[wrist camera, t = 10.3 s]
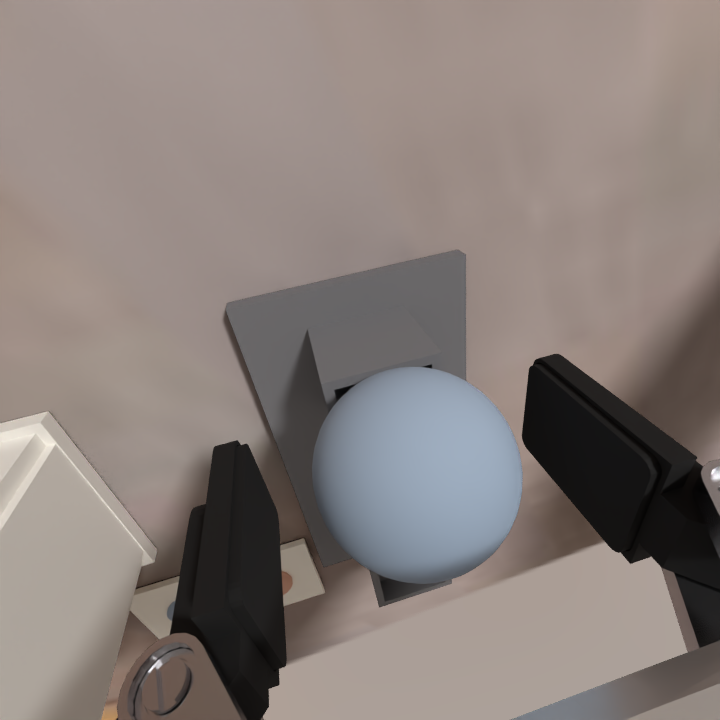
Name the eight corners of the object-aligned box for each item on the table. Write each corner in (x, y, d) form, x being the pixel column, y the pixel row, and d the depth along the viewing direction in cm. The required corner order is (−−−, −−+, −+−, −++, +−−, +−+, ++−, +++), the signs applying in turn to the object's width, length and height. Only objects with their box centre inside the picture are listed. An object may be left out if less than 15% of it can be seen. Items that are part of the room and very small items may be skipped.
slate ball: (462, 313, 11) (595, 435, 6) (462, 442, 13) (557, 587, 9) (282, 358, 10) (300, 523, 6) (321, 483, 13) (353, 657, 9)
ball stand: (457, 249, 13) (522, 289, 10) (461, 513, 21) (497, 582, 18) (227, 302, 12) (216, 365, 9) (321, 556, 21) (334, 637, 17)
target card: (304, 538, 19) (305, 546, 19) (324, 587, 22) (325, 595, 22) (121, 593, 18) (118, 603, 18) (165, 638, 21) (163, 647, 21)
